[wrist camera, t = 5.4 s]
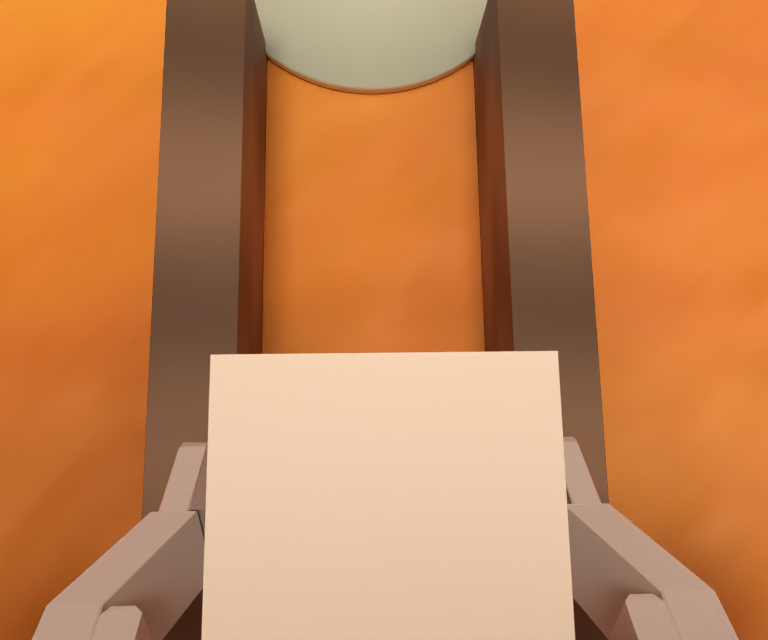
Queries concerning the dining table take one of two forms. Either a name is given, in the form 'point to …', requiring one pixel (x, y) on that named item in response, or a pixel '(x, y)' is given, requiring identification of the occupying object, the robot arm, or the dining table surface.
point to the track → (246, 221)
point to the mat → (370, 40)
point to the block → (386, 498)
